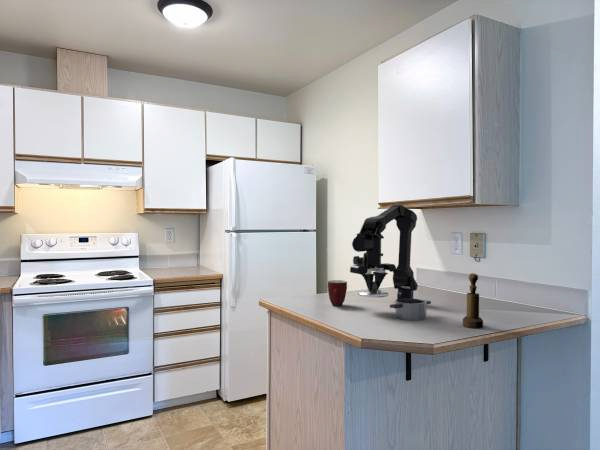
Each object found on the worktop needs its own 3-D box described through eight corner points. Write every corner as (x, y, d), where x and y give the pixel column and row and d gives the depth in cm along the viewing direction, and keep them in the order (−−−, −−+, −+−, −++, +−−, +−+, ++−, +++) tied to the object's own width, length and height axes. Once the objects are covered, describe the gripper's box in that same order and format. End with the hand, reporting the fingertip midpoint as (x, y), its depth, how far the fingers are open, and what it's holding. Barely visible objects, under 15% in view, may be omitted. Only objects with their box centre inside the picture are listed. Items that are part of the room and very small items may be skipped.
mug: (347, 308, 173) (347, 284, 173) (327, 308, 174) (327, 283, 174) (346, 303, 184) (346, 280, 184) (327, 303, 185) (327, 279, 185)
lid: (374, 291, 175) (374, 279, 175) (394, 295, 165) (394, 282, 165) (352, 293, 169) (352, 280, 169) (371, 298, 159) (371, 284, 159)
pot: (417, 311, 169) (417, 296, 169) (439, 317, 159) (439, 301, 159) (381, 316, 159) (382, 300, 159) (402, 323, 150) (403, 305, 150)
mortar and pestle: (459, 323, 150) (459, 272, 150) (477, 323, 150) (477, 272, 150) (468, 328, 143) (468, 274, 143) (486, 328, 144) (487, 274, 143)
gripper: (378, 248, 178) (377, 286, 178) (341, 249, 169) (341, 289, 169) (397, 250, 169) (396, 290, 169) (359, 251, 159) (359, 293, 159)
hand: (373, 290), depth 167 cm, fingers closed on lid, 3 cm apart
